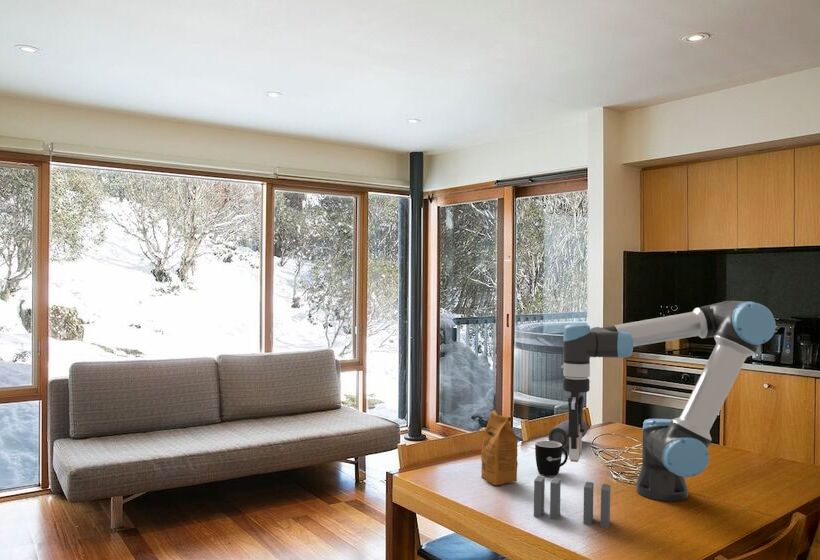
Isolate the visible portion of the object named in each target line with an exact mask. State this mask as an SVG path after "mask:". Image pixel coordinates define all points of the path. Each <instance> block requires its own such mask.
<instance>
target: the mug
mask: <svg viewBox="0 0 820 560" xmlns="http://www.w3.org/2000/svg"><path fill="white" fill-rule="evenodd" d="M534 445H535V446H534V447H535V451H534V452H535V462H536V463H535V465H536V468H537V472H538V474H539V475H540V476H544V475H545V477H555V476H558V475H559V472H560V469H561V467H562V466H563V467H564V465H565V464H567V461H568V460H569V453H568V452H567V449H564V448H562V444H561V443H558V442H555V441H549V440H538V441H536V442H535V444H534ZM563 452H564V460H563V461H562V456H563V455H562V454H563Z"/></svg>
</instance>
